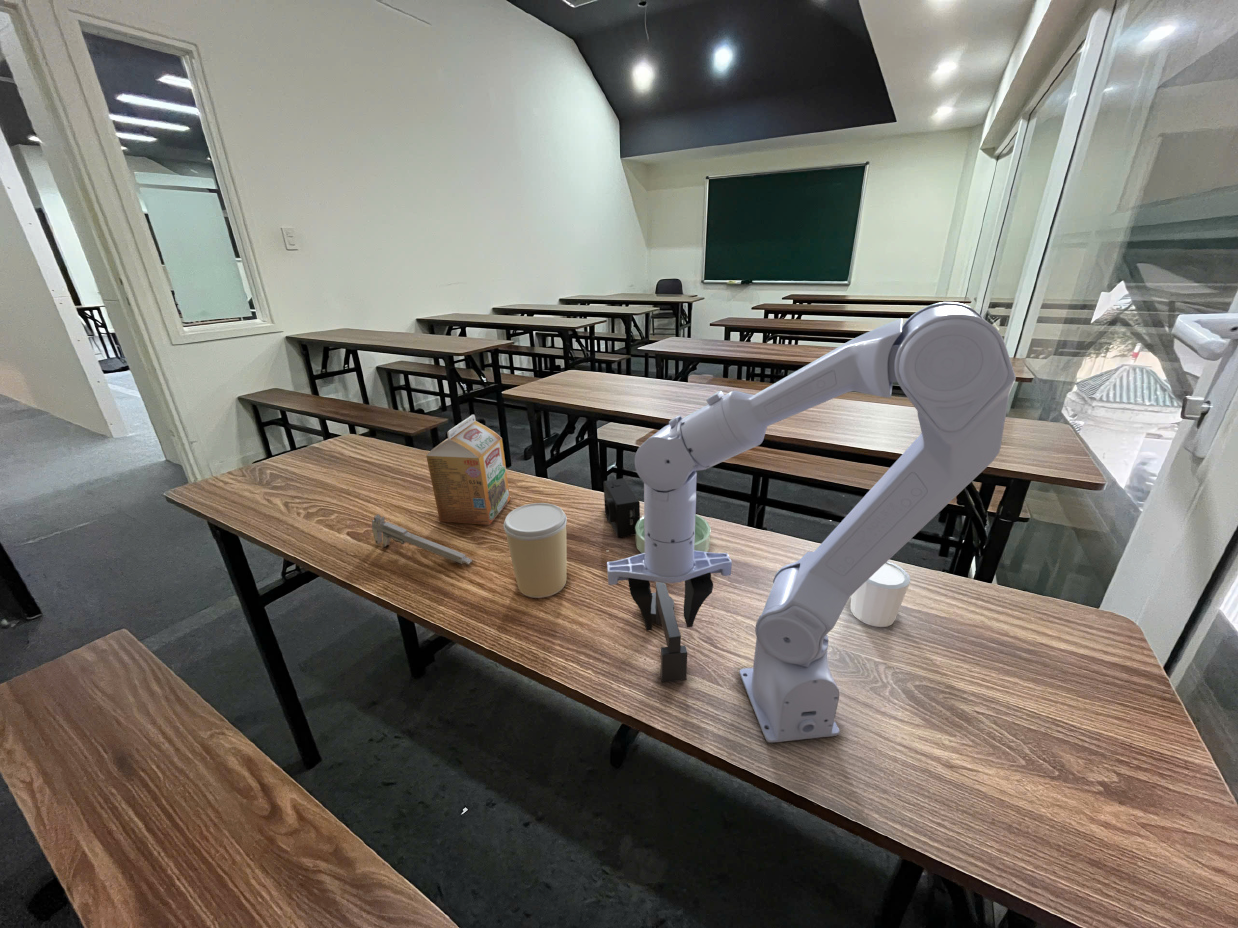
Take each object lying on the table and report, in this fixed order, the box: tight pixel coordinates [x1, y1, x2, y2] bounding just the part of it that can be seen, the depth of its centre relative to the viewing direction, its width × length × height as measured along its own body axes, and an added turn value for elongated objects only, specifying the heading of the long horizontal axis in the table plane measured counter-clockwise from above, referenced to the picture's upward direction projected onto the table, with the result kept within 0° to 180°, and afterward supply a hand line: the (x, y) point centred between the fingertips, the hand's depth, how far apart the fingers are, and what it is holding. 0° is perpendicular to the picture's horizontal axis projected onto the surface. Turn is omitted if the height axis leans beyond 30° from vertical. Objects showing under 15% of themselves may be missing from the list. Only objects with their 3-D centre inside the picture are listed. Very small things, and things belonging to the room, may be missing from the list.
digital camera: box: [603, 478, 641, 539], centre depth 91 cm, size 10×5×7 cm, turn 15°
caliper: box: [371, 513, 473, 565], centre depth 83 cm, size 20×1×6 cm, turn 70°
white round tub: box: [850, 560, 911, 628], centre depth 66 cm, size 7×7×7 cm
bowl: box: [634, 514, 712, 554], centre depth 84 cm, size 13×13×4 cm
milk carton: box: [425, 414, 511, 526], centre depth 95 cm, size 11×11×19 cm
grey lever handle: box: [640, 582, 688, 683], centre depth 63 cm, size 15×5×7 cm, turn 5°
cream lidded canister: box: [503, 502, 568, 599], centre depth 74 cm, size 9×9×12 cm
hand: (668, 623), depth 60 cm, fingers open, 4 cm apart
